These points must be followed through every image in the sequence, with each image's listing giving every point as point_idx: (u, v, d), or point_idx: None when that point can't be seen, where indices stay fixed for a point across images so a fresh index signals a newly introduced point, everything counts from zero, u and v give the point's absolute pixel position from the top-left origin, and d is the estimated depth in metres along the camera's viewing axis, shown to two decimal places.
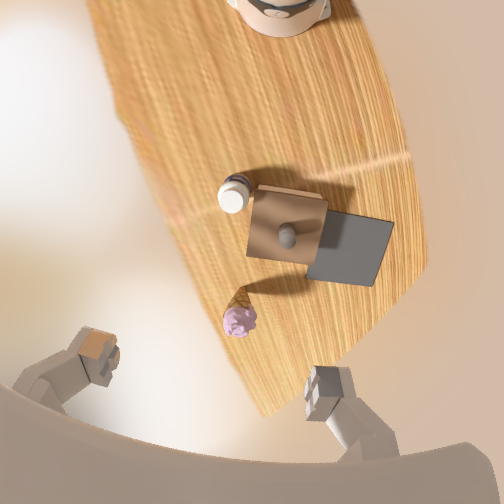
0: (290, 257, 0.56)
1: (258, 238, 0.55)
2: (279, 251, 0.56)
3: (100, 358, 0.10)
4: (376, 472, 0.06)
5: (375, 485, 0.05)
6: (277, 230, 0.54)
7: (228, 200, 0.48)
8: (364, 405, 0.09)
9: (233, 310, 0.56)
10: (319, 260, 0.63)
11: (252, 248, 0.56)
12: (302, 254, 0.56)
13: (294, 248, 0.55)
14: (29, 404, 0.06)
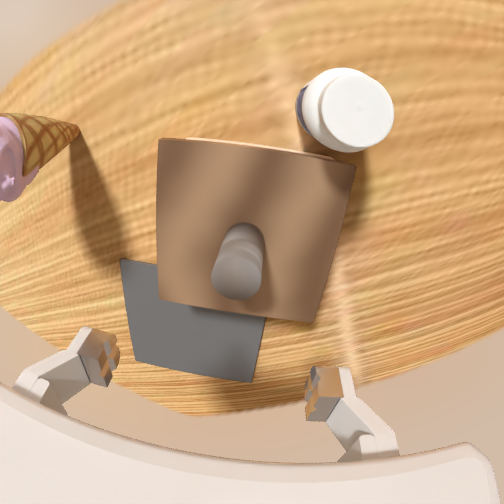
0: (169, 252, 0.22)
1: (214, 171, 0.19)
2: (182, 224, 0.21)
3: (100, 358, 0.10)
4: (376, 472, 0.06)
5: (375, 485, 0.05)
6: (241, 219, 0.20)
7: (364, 102, 0.13)
8: (364, 405, 0.09)
9: (9, 140, 0.13)
10: None
11: (183, 155, 0.19)
12: (181, 277, 0.23)
13: (194, 260, 0.22)
14: (29, 404, 0.06)
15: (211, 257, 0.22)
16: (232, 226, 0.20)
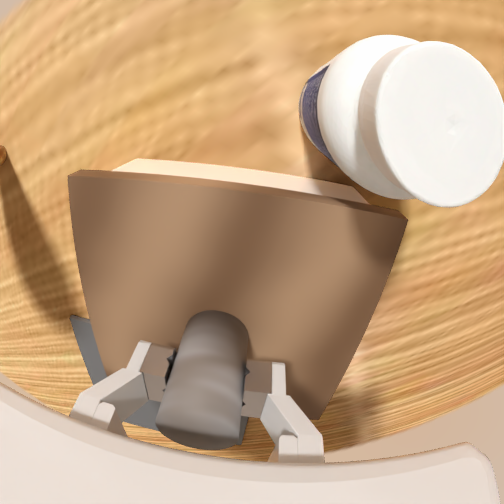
0: (111, 339, 0.14)
1: (158, 229, 0.11)
2: (120, 307, 0.12)
3: (166, 375, 0.10)
4: (376, 472, 0.06)
5: (375, 485, 0.05)
6: (209, 306, 0.12)
7: (464, 108, 0.05)
8: (294, 403, 0.09)
9: None
10: None
11: (105, 202, 0.10)
12: None
13: None
14: (29, 404, 0.06)
15: None
16: (195, 316, 0.12)
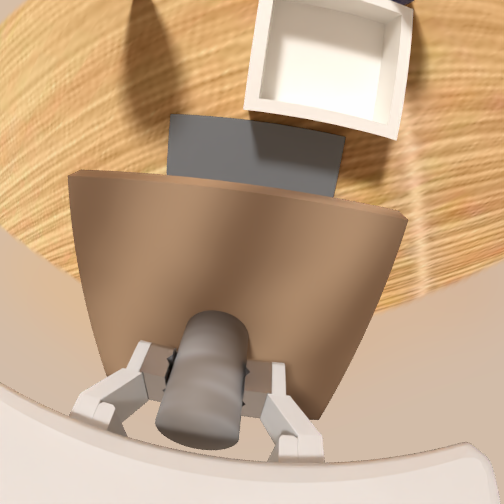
0: (111, 339, 0.14)
1: (158, 229, 0.11)
2: (120, 307, 0.12)
3: (166, 375, 0.10)
4: (376, 472, 0.06)
5: (375, 485, 0.05)
6: (209, 306, 0.12)
7: None
8: (294, 403, 0.09)
9: None
10: (220, 138, 0.25)
11: (105, 202, 0.10)
12: None
13: None
14: (29, 404, 0.06)
15: None
16: (195, 316, 0.12)
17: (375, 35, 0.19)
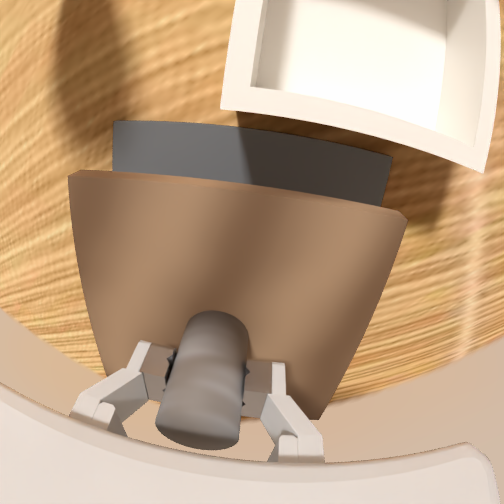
0: (111, 339, 0.14)
1: (158, 229, 0.11)
2: (120, 307, 0.12)
3: (166, 375, 0.10)
4: (376, 472, 0.06)
5: (375, 485, 0.05)
6: (209, 306, 0.12)
7: None
8: (294, 403, 0.09)
9: None
10: (190, 157, 0.16)
11: (105, 203, 0.10)
12: None
13: None
14: (29, 404, 0.06)
15: None
16: (195, 316, 0.12)
17: (436, 2, 0.09)
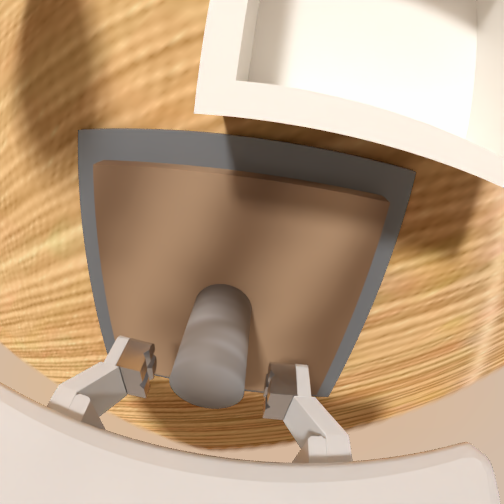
0: (125, 316, 0.15)
1: (174, 210, 0.12)
2: (136, 284, 0.14)
3: (142, 369, 0.10)
4: (376, 472, 0.06)
5: (375, 485, 0.05)
6: (216, 280, 0.14)
7: None
8: (319, 405, 0.09)
9: None
10: None
11: (127, 188, 0.12)
12: None
13: (158, 328, 0.15)
14: (29, 404, 0.06)
15: (179, 325, 0.15)
16: (204, 289, 0.14)
17: None
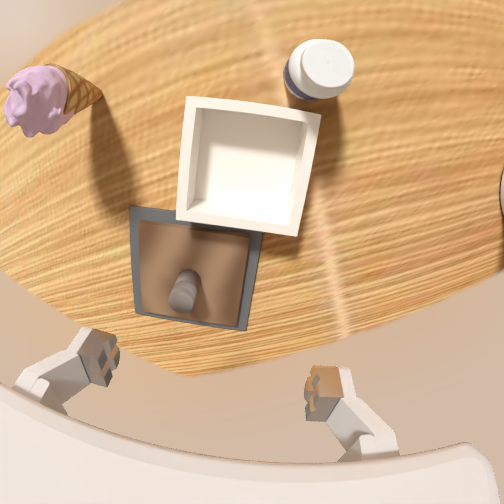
0: (148, 284, 0.37)
1: (170, 241, 0.34)
2: (154, 269, 0.36)
3: (100, 358, 0.10)
4: (376, 472, 0.06)
5: (375, 485, 0.05)
6: (186, 267, 0.35)
7: (332, 58, 0.18)
8: (364, 405, 0.09)
9: (59, 80, 0.17)
10: None
11: (152, 232, 0.33)
12: (155, 298, 0.38)
13: (162, 289, 0.37)
14: (29, 404, 0.06)
15: (171, 287, 0.37)
16: (182, 271, 0.35)
17: (292, 133, 0.29)
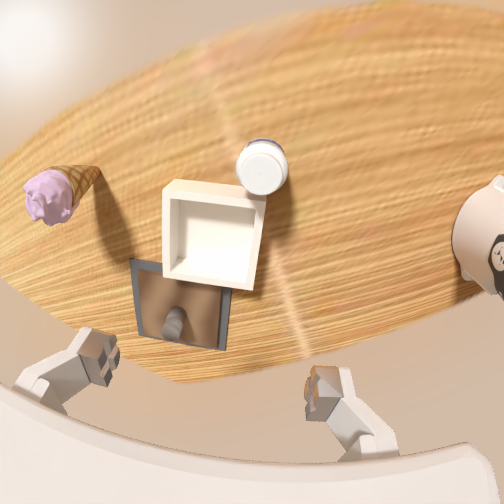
0: (147, 315, 0.47)
1: (162, 286, 0.44)
2: (151, 305, 0.46)
3: (100, 358, 0.10)
4: (376, 472, 0.06)
5: (375, 485, 0.05)
6: (175, 305, 0.45)
7: (263, 170, 0.27)
8: (364, 405, 0.09)
9: (64, 187, 0.27)
10: None
11: (148, 279, 0.43)
12: (153, 326, 0.48)
13: (158, 319, 0.47)
14: (29, 404, 0.06)
15: (165, 318, 0.47)
16: (172, 307, 0.45)
17: (249, 208, 0.38)
